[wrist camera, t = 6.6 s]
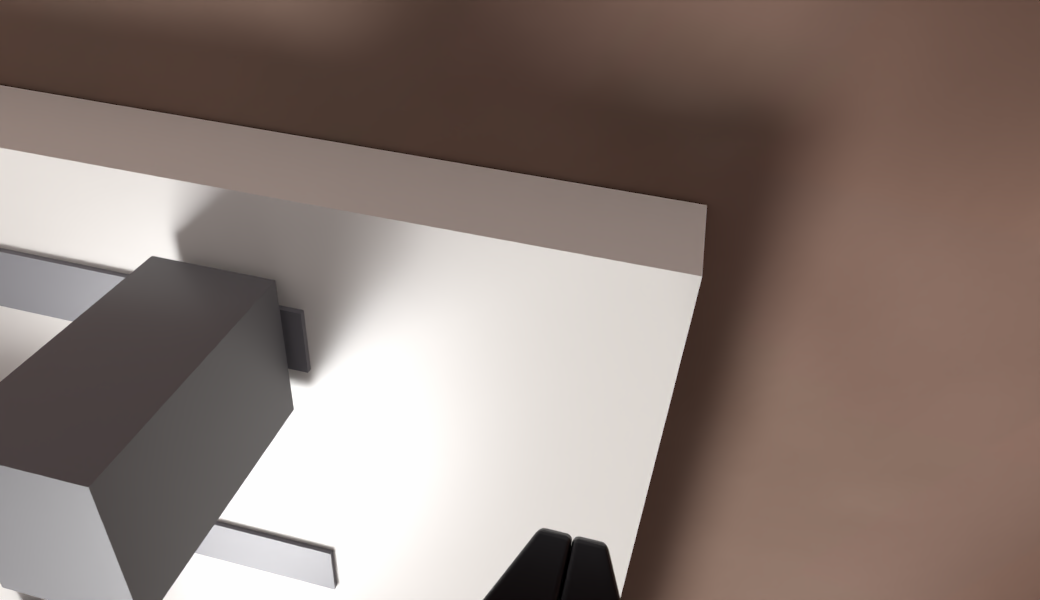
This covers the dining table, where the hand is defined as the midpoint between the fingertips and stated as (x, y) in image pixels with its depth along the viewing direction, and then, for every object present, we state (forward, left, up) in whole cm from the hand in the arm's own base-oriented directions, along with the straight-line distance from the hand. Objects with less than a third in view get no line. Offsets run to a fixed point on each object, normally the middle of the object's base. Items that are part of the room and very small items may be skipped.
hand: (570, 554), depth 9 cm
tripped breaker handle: (+6, 0, -2) cm, 6 cm away
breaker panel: (+11, +6, -5) cm, 13 cm away
